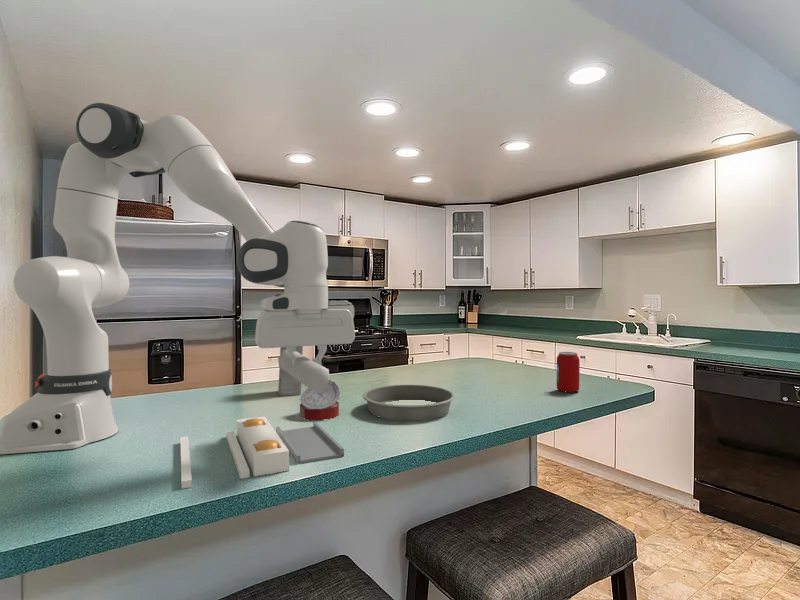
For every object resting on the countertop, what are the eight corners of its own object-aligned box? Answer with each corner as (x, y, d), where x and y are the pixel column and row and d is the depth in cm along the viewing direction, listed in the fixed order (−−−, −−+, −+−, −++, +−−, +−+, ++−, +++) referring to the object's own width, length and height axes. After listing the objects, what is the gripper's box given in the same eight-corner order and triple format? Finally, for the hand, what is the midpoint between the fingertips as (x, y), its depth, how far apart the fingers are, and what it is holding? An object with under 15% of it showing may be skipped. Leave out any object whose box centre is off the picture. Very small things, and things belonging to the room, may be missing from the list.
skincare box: (278, 390, 148) (277, 341, 147) (301, 389, 150) (300, 340, 150) (279, 396, 140) (279, 344, 139) (303, 395, 142) (303, 343, 142)
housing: (181, 488, 75) (181, 467, 75) (180, 442, 97) (180, 426, 97) (289, 470, 82) (289, 450, 82) (265, 431, 105) (264, 416, 105)
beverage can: (564, 387, 151) (564, 351, 151) (583, 391, 146) (583, 353, 146) (552, 390, 147) (552, 352, 147) (572, 394, 142) (572, 355, 141)
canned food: (340, 432, 120) (353, 401, 117) (305, 436, 113) (319, 403, 110) (320, 404, 128) (333, 374, 125) (287, 406, 121) (300, 375, 118)
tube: (336, 367, 86) (303, 350, 108) (309, 362, 84) (280, 346, 106) (330, 395, 86) (298, 373, 108) (302, 392, 83) (275, 370, 106)
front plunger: (258, 466, 83) (258, 447, 83) (255, 460, 86) (255, 441, 86) (279, 463, 84) (279, 444, 84) (275, 457, 88) (275, 438, 87)
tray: (297, 464, 86) (297, 455, 86) (276, 433, 104) (276, 427, 104) (344, 456, 89) (343, 448, 89) (315, 428, 107) (315, 422, 107)
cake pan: (347, 419, 116) (347, 401, 116) (380, 397, 140) (380, 382, 140) (444, 427, 109) (444, 408, 109) (462, 402, 133) (462, 387, 133)
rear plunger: (246, 440, 97) (246, 424, 97) (244, 435, 100) (244, 419, 100) (264, 438, 99) (264, 421, 99) (261, 433, 102) (261, 417, 102)
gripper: (349, 299, 103) (349, 362, 103) (253, 300, 94) (254, 369, 95) (359, 300, 97) (359, 366, 98) (258, 301, 89) (259, 374, 89)
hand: (306, 367), depth 96 cm, fingers closed on tube, 3 cm apart
